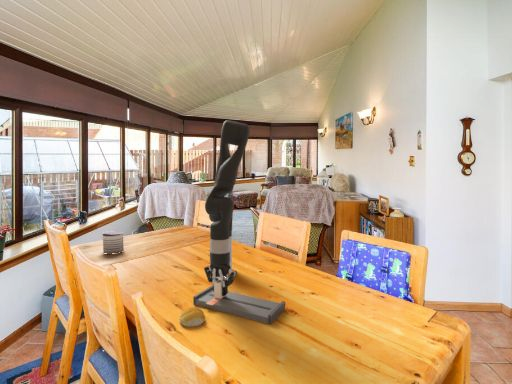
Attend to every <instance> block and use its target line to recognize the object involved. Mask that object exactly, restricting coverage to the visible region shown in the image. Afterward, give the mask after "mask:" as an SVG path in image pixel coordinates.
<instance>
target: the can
mask: <svg viewBox="0 0 512 384" xmlns="http://www.w3.org/2000/svg"><path fill="white" fill-rule="evenodd" d="M102 248H103V249H102V251H103V253H107V254H112V253H119V252H122V251H124V252H125V249H124V232H123V231H116V230H113V231H103V232H102ZM122 253H123V252H122Z"/></svg>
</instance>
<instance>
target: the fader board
mask: <svg viewBox="0 0 512 384" xmlns="http://www.w3.org/2000/svg"><path fill="white" fill-rule="evenodd" d="M192 298H193V305H196V306H200V307H203V308H206V309H211V310H215V311H218V312H223V313H226V314H230V315H234V316H237V317H240V318H241V317H242V318H245V319H249V320H253V321H256V322H260V323H264V324H267V325H272V324H273V323H274V322H275V321H276V320H277V319H278V318H279V317H280V315H282V313H284V312H285V311H286V301H284V300H282V301H281V302H278V301H277V302H276V301H273V300H267V299H263V298H261V297H260V298H259V297H254V296H250V295H246V294H241V293H237V292H233V291H229V290H228V293H227V295H226V296H224V297H223V298H222V299H219V298H215V297H214V292H213V284H212V285H211V286H209V287H207V288H205V289H204V290H202V291H200V292H199V293H197V294H195V295H193V297H192Z"/></svg>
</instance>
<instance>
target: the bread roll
mask: <svg viewBox="0 0 512 384" xmlns="http://www.w3.org/2000/svg"><path fill="white" fill-rule="evenodd" d="M178 320H179V323H180V324H181V325H182V326H183V327H188V328H192V327H197V326H198V327H199V326H201V325H202V324H203V323H204V322H205V320H206V316H205V314H204V311H203V310H202V309H201V308H200V307H197V306H191V307H188V308H185V309H184V310H183V311H182V312H181V313H180V315H179V319H178Z"/></svg>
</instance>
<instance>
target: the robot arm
mask: <svg viewBox="0 0 512 384" xmlns="http://www.w3.org/2000/svg"><path fill="white" fill-rule="evenodd" d="M250 130H251V129H250V125H248V124H246V123H243V122H238V121H233V120H229V119H228V120H225V121H223V124H222V126H221V130H220V131H221V132H220V133H221V134H220V142H219V153H218V154H219V155H218V160H217V165H216V170H215V177H214V185H213V187H212V190H211V191H210V193H209V194H208V196H207V198H206V200H205V203H204V209H205V212H206V213H207V215H208V217H209V220H210V222H211V224H210V225H209V227H210V228H209V233H210V236H209V238H210V240H209V263H210V264H209V265H206V266H205V267H204V268H203V269H204V272H205V276H206V278H207V280H208V282H209V283H211V284H212V285H213V292H214V282H215V281H216V280H218V279H220V280H221V281H222V286H223V287H222V296H225V295H227V293H228V291H229V290H228V289H229V286H231V285H232V284H233V282H234V280H235V278H236V275H237V273H238V271H237V270H233V252H232V251H233V241H232V240H233V237H232V236H233V235H232V234H233V218H234V217H233V215H234V209H235V204H234V200H233V199H232V198H231V197H229V196H228V197H227V195H228V194H230V193H232V192H233V190H234V187H235V185H236V181H237V177H238V170H239V167H240V164H241V162H242V159H243V156H244V154H245V151H246V147H247V144H248V141H249V138H250V137H249V136H250ZM229 145H233V146H237V148H236V150H235V151H234V152H233V153H232V155H231V152H230V148H229Z"/></svg>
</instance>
